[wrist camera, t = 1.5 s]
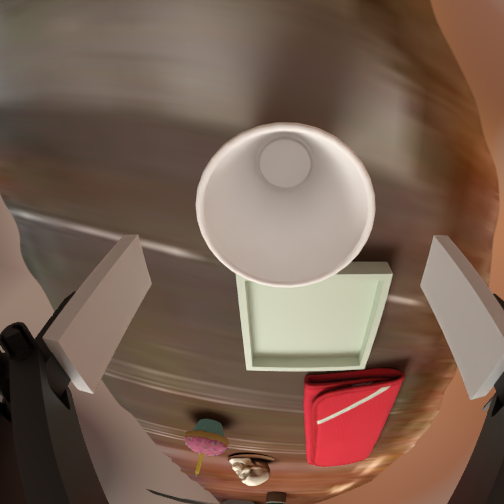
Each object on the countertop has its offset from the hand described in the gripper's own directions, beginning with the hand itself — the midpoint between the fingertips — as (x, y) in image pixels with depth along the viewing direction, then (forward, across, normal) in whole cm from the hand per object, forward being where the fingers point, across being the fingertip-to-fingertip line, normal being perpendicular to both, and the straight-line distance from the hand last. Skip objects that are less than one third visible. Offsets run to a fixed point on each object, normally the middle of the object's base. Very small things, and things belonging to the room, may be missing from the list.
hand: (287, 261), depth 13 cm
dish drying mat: (+16, +12, -49) cm, 53 cm away
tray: (+15, +3, -18) cm, 23 cm away
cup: (+15, 0, 0) cm, 15 cm away
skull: (+16, -7, -71) cm, 73 cm away
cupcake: (+16, -14, -49) cm, 53 cm away
